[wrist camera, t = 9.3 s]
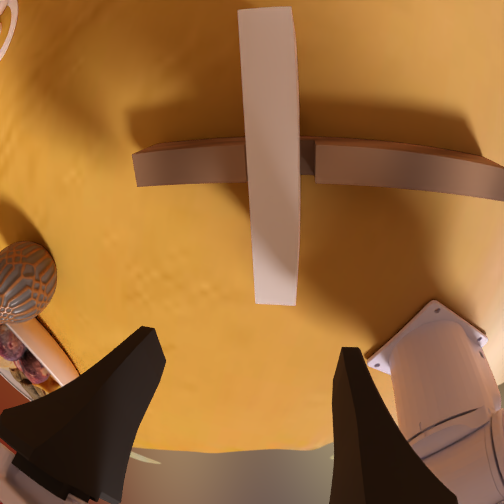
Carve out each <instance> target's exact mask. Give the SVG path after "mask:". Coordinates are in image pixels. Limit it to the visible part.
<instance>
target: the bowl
mask: <svg viewBox="0 0 504 504" xmlns="http://www.w3.org/2000/svg"><path fill="white" fill-rule="evenodd" d="M0 374H1V375H2V376H3V377H4V378H5V379H6V380H7V381H8V382H9V383H10V384H11V385H12V386H13V387H15V388H16V389H17V390H18V391H19V392H20V393H22V394H23V395H24V396H25V397H27V398H28V399H30V400H31V401H33V400H36V399H38V398H40V397H43V396H45V395H47V394H49V393H51V392H53V391H55V390H57V389H59V388H61V387H62V386H64V385H66V384H68V383H69V382H71V381H72V380H74V379H76V378H77V377H79V374H78V372H77V370H76V369H75V367H74V365H73V364H72V362H71V361H70V359H69V358H68V357H67V355H66V354H65V353H64V351H63V350H62V349H61V347H60V346H59V345H58V343H57V342H56V341H55V340H54V338H53V337H52V336H51V335H50V334H49V333H48V331H47V330H46V329H45V328H44V327H43V326H42V324H41V323H40V322H39V321H38V320H37V319H36V318H35V317H34V318H33V319H31V320H29V321H26V322H23V323H7V324H0Z"/></svg>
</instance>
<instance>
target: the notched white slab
mask: <svg viewBox="0 0 504 504" xmlns="http://www.w3.org/2000/svg"><path fill="white" fill-rule="evenodd" d="M238 26H239V42H240V59H241V75H242V91H243V107H244V123H245V140H246V156H247V172H248V189H249V205H250V221H251V238H252V254H253V270H254V287H255V303H256V304H273V305H292V306H296V294H297V280H298V264H299V247H300V190H301V175H300V128H299V116H300V111H299V84H298V63H297V46H296V35H295V28H294V21H293V14H292V8H291V6H287V7H264V8H251V9H241V10H238Z"/></svg>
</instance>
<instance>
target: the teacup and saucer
mask: <svg viewBox="0 0 504 504" xmlns="http://www.w3.org/2000/svg"><path fill="white" fill-rule="evenodd" d="M6 6H9V7H10V9H11V13H12V18H11V25H10V29H9V32H8V35H7V38H6V40H5V43H4V45H3V46H2V48H1V50H0V60H1V59H2V57H3V56H4V54H5V52H6V50H7V48H8V46H9V44H10V41H11V39H12V36H13V33H14V30H15V26H16V22H17V17H18V2H17V0H0V15H1V14H2V13H3V11H4V10H5V8H6ZM1 29H2V24H1V23H0V33H1Z"/></svg>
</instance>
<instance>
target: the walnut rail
mask: <svg viewBox="0 0 504 504" xmlns="http://www.w3.org/2000/svg"><path fill="white" fill-rule="evenodd" d="M132 158H133V164H134V170H135V176H136V182H137V187H143V186H158V185H177V184H200V183H246V182H247V181H248V172H247V156H246V140H245V137H228V138H212V139H199V140H188V141H177V142H168V143H160V144H156V145H153V146H151V147H148V148H146V149H143V150H141V151H139V152H136V153H134V154H132ZM300 175H315V183H319V184H343V185H361V186H376V187H389V188H401V189H412V190H422V191H432V192H441V193H449V194H457V195H465V196H472V197H479V198H485V199H492V200H498V201H504V167H503V166H501V165H499V164H497V163H495V162H493V161H491V160H489V159H487V158H485V157H482V156H478V155H473V154H468V153H463V152H458V151H452V150H447V149H441V148H435V147H428V146H422V145H414V144H407V143H398V142H389V141H380V140H368V139H356V138H340V137H316V136H300Z"/></svg>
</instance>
